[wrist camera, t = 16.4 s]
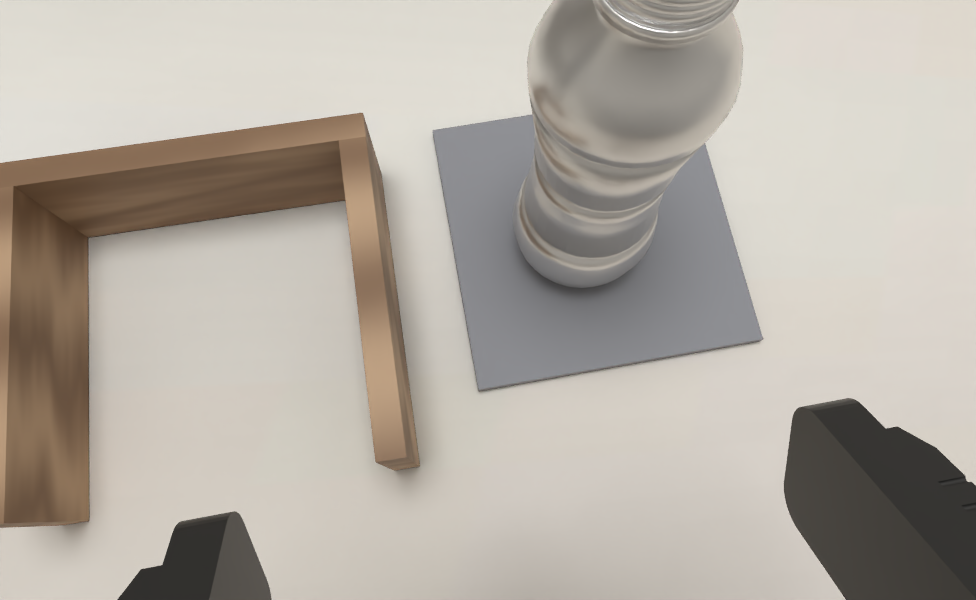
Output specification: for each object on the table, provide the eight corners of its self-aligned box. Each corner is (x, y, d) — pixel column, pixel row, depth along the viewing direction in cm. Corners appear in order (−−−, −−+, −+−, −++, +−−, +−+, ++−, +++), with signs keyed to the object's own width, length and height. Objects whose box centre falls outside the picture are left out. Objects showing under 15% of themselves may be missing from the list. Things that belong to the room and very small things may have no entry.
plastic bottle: (656, 288, 35) (865, 23, 16) (522, 310, 35) (570, 66, 16) (627, 171, 37) (784, -193, 18) (499, 190, 37) (518, -160, 17)
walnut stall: (420, 466, 33) (406, 457, 27) (62, 525, 32) (-30, 528, 27) (381, 173, 37) (362, 112, 32) (64, 219, 37) (-15, 164, 31)
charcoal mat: (478, 391, 34) (478, 389, 34) (433, 135, 38) (432, 130, 38) (759, 341, 35) (762, 338, 34) (686, 95, 39) (689, 89, 38)
